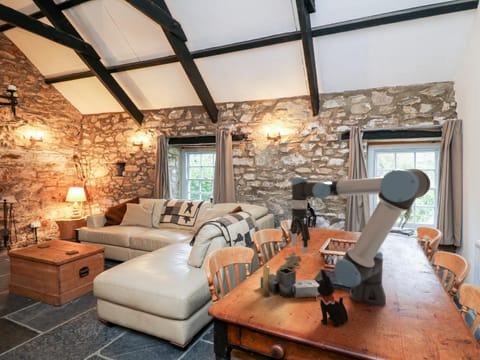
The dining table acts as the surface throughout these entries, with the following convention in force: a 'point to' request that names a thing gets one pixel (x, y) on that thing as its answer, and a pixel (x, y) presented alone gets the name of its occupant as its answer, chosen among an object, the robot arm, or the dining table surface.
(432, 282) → the dining table surface
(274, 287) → the hinge base
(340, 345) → the dining table surface
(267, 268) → the pin
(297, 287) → the grey flat block
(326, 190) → the robot arm
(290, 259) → the vertebra
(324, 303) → the figurine
